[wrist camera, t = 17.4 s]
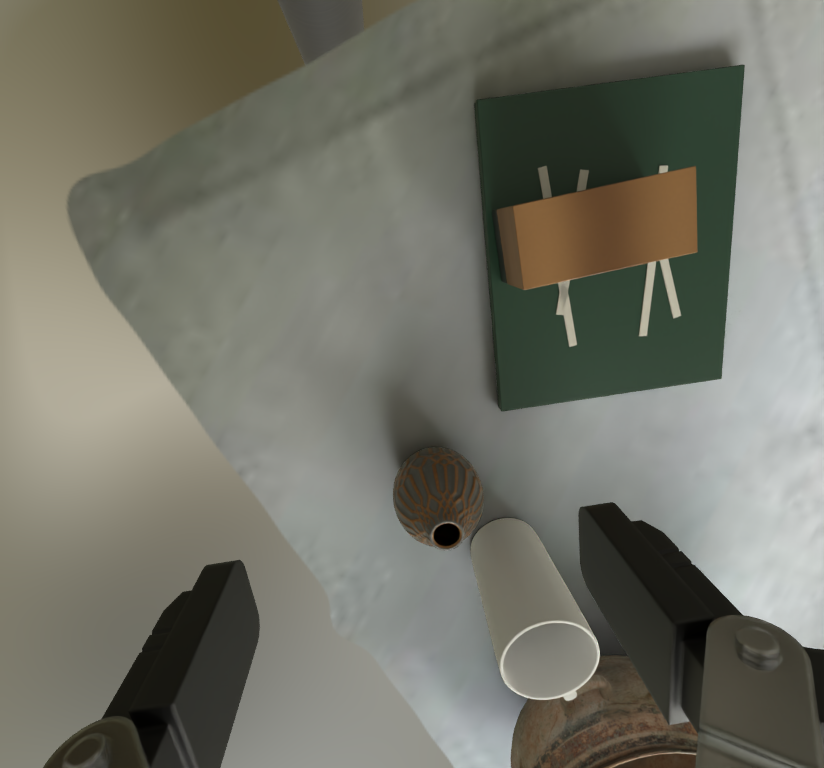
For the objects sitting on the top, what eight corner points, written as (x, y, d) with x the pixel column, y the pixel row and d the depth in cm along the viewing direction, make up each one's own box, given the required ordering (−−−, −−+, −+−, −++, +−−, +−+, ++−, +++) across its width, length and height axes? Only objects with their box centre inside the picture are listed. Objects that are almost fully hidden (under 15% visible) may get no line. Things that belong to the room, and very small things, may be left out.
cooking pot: (700, 733, 51) (794, 878, 40) (539, 794, 53) (585, 952, 41) (640, 562, 44) (734, 679, 32) (454, 637, 45) (481, 776, 34)
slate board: (473, 103, 32) (477, 99, 31) (734, 69, 32) (746, 63, 31) (498, 407, 38) (501, 412, 37) (713, 375, 39) (722, 379, 38)
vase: (489, 461, 40) (518, 520, 31) (442, 521, 41) (458, 594, 33) (422, 420, 38) (434, 471, 30) (376, 484, 40) (375, 550, 31)
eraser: (645, 176, 33) (696, 165, 27) (649, 249, 34) (698, 252, 29) (491, 210, 33) (512, 205, 27) (501, 282, 34) (523, 290, 29)
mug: (454, 533, 42) (483, 646, 30) (524, 502, 41) (580, 604, 30) (498, 613, 45) (539, 743, 33) (563, 585, 44) (627, 707, 33)
